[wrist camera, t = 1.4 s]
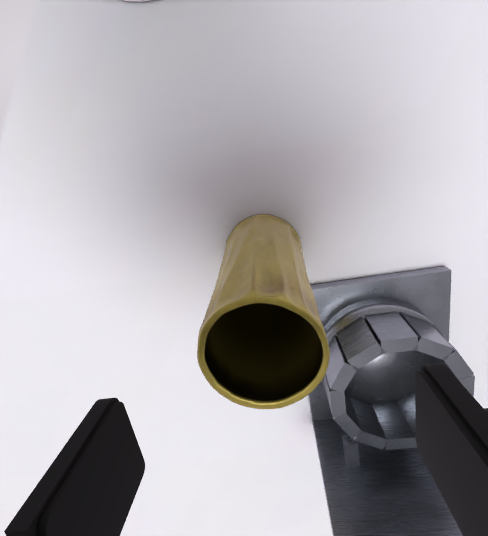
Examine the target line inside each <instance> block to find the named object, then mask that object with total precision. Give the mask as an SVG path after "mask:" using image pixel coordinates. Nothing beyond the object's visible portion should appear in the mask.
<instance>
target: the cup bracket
mask: <svg viewBox="0 0 488 536" xmlns="http://www.w3.org/2000/svg"><path fill="white" fill-rule="evenodd" d="M310 286H311V289H312V292H313V295H314V298H315V301H316V304H317V308H318V312H319V315H320V318H321V321H322V324H323V327H324V330H325V334H326V337H327V341H328V345H329V349H330V358H329V364H328V368H327V371H326V374H325V376H324V378H323V379H322V381H321V382H320V383H319V384H318V386H317V387H316V388H315V389H314V390H313V391H312V392H311V393H310V394H309V400H310V407H311V415H312V422H313V428H314V433H315V439H316V444H317V450H318V456H319V461H320V467H321V472H322V478H323V483H324V489H325V494H326V500H327V505H328V511H329V516H330V522H331V528H332V533H333V536H463V535H462V533H461V531H460V529H459V527H458V525H457V523H456V521H455V520H454V518H453V516H452V514H451V512H450V510H449V508H448V506H447V504H446V502H445V500H444V499H443V497H442V495H441V493H440V491H439V489H438V487H437V485H436V483H435V481H434V480H433V478H432V476H431V474H430V472H429V470H428V468H427V466H426V464H425V462H424V460H423V459H422V457H421V455H420V453H419V450H418V447H417V443H416V415H415V372H416V371H420V368H421V366H422V365H430V364H440V363H442V364H444V365H445V366H447V368H448V369H449V370H450V371H451V372H452V373H453V374H454V376H455V377H456V378H457V379H458V380H459V381H460V382H461V384H462V385H463V386H464V387H465V388H466V389H467V390H468V392H469V393H470V394H471V395H472V396H473V394H474V380H475V376H474V375H473V374H474V373H473V372H472V371H471V369H470V368H469V366H468V365H467V364H466V362H465V361H464V360H463V358H462V357H461V356H460V354H459V353H458V352H457V350H456V349H455V348H454V347H453V346H452V345H451V344H450V343H449V320H450V292H451V270H450V269H448V268H447V267H445V266H441V267H433V268H426V269H419V270H412V271H405V272H398V273H391V274H384V275H377V276H370V277H363V278H356V279H349V280H341V281H334V282H327V283H320V284H313V285H310Z"/></svg>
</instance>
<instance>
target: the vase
mask: <svg viewBox="0 0 488 536" xmlns="http://www.w3.org/2000/svg"><path fill="white" fill-rule="evenodd" d="M197 358H198V363H199V366H200V369H201V371H202V373H203V374H204V376H205V378H206V379H207V381H208V382H209V384H210V385H211V386H212V387H213V388H214V389H215V390H216V391H217V392H218V393H219V394H221V395H222V396H224V397H225V398H227V399H229V400H230V401H232V402H234V403H237V404H239V405H242V406H246V407H250V408H256V409H276V408H282V407H285V406H288V405H290V404H293V403H295V402H297V401H299V400H301V399H303V398H304V397H306V396H307V395H308V394H310V393H311V392H312V391H313V390H314V389H315V388H316V387H317V386H318V384H319V383H320V382H321V381H322V379H323V378H324V376H325V374H326V371H327V368H328V364H329V358H330V349H329V345H328V341H327V337H326V334H325V330H324V327H323V324H322V321H321V318H320V315H319V312H318V308H317V304H316V301H315V298H314V295H313V292H312V289H311V286H310V283H309V280H308V276H307V273H306V267H305V263H304V259H303V254H302V250H301V242H300V239H299V237H298V234H297V233H296V231H295V230H294V229H293V227H292V226H291V225H290V224H289V223H287V222H286V221H284V220H282V219H280V218H278V217H275V216H272V215H255V216H252V217H249V218H247V219H245V220H243V221H242V222H240V223H239V224H238V225H237V226H236V227H235V228H234V229H233V231H232V232H231V234H230V236H229V237H228V239H227V242H226V249H225V253H224V256H223V261H222V264H221V268H220V272H219V276H218V279H217V282H216V286H215V289H214V292H213V295H212V297H211V300H210V303H209V306H208V309H207V312H206V315H205V318H204V320H203V323H202V325H201V328H200V331H199V337H198V350H197Z"/></svg>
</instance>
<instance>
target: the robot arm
mask: <svg viewBox="0 0 488 536" xmlns="http://www.w3.org/2000/svg"><path fill="white" fill-rule="evenodd" d="M124 1H139V2H145V1H150V0H124ZM415 415H416V443H417V447H418V450H419V453H420V455H421V457H422V459H423V460H424V462H425V464H426V466H427V468H428V470H429V472H430V474H431V476H432V478H433V480H434V481H435V483H436V485H437V487H438V489H439V491H440V493H441V495H442V497H443V499H444V500H445V502H446V504H447V506H448V508H449V510H450V512H451V514H452V516H453V518H454V520H455V521H456V523H457V525H458V527H459V529H460V531H461V533H462V535H463V536H488V408H486V409H483V408H482V406H481V405H480V404H479V403H478V402H477V401H476V400H475V398H474V397H473V396H472V395H471V394H470V393H469V392H468V390H467V389H466V388H465V387H464V386H463V385H462V384H461V382H460V381H459V380H458V379H457V378H456V377H455V376H454V374H453V373H452V372H451V371H450V370H449V369H448V368H447V366H445V365H444V364H442V363H440V364H430V365H422V366H421V368H420V371H416V372H415ZM144 470H145V462H144V458H143V456H142V453H141V450H140V448H139V445H138V442H137V439H136V437H135V434H134V431H133V428H132V426H131V423H130V420H129V417H128V415H127V412H126V409H125V407H124V404H123V403H122V402H119V400H118V399H117V398H108V399H99V400H97V401H96V402H95V404H94V405H93V407H92V408H91V409H90V411H89V412H88V414H87V415H86V416H85V418H84V419H83V421H82V422H81V424H80V425H79V426H78V428H77V429H76V431H75V432H74V433H73V435H72V436H71V438H70V439H69V441H68V442H67V443H66V445H65V446H64V448H63V449H62V450H61V452H60V453H59V455H58V456H57V458H56V459H55V460H54V462H53V463H52V465H51V466H50V467H49V469H48V470H47V472H46V473H45V475H44V476H43V477H42V479H41V480H40V482H39V483H38V484H37V486H36V487H35V489H34V490H33V492H32V493H31V494H30V496H29V497H28V499H27V500H26V501H25V503H24V504H23V506H22V507H21V509H20V510H19V511H18V513H17V514H16V516H15V517H14V519H13V520H12V521H11V523H10V524H9V526H8V527H7V529H6V530H5V531H4V532H5V534H6V536H120V533H121V531H122V528H123V526H124V523H125V521H126V518H127V516H128V513H129V510H130V508H131V505H132V503H133V500H134V498H135V495H136V492H137V490H138V487H139V485H140V482H141V480H142V477H143V474H144Z"/></svg>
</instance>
